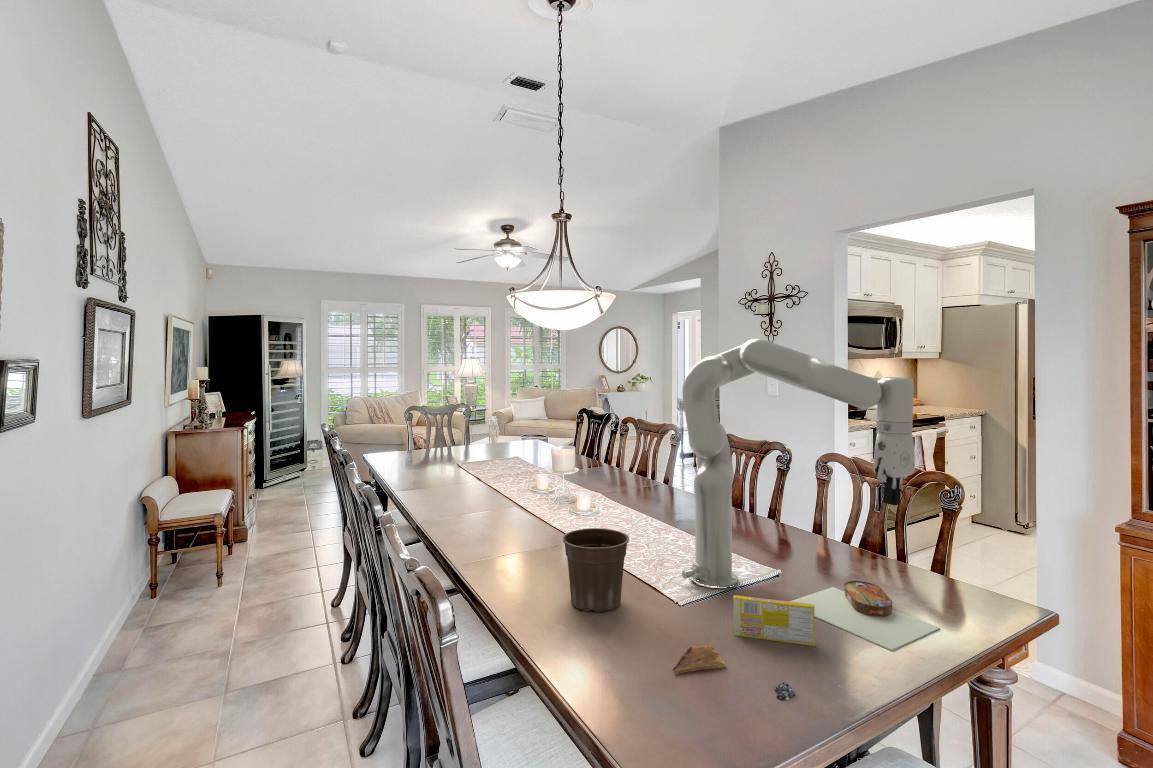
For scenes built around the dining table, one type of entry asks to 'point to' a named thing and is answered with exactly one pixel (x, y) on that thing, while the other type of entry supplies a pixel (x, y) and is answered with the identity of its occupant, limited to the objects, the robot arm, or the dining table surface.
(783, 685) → the blueberries
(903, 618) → the placemat
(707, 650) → the shard
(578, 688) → the dining table surface
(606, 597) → the plant pot
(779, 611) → the candy box
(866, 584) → the tin
